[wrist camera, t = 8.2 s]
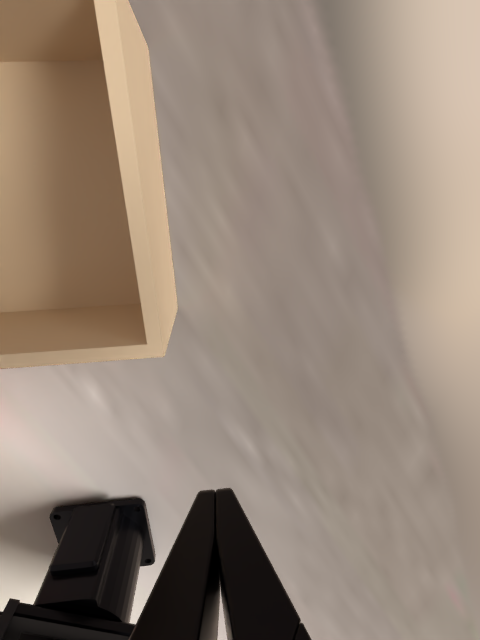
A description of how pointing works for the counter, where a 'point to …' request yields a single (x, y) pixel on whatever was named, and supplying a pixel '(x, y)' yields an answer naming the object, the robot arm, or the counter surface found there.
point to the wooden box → (80, 188)
